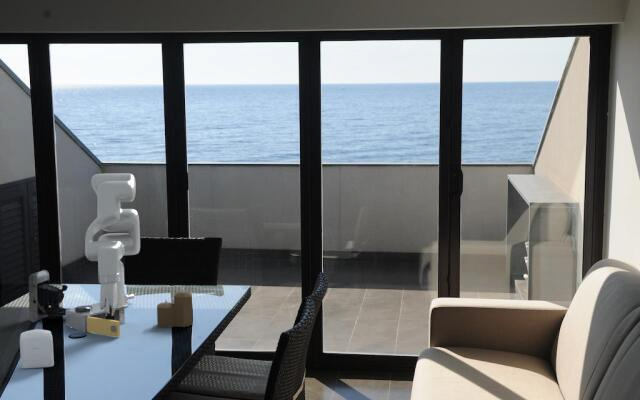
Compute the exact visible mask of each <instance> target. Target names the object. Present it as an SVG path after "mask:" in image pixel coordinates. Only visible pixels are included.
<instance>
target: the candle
mask: <svg viewBox="0 0 640 400" xmlns="http://www.w3.org/2000/svg"><path fill="white" fill-rule="evenodd" d="M181 288H182V289H181V291H176V292H175V293H174V294H173V302H169V301H168V300H167V299H165V301H164V302H160V303H158V304H157V305H156V319H157V321H156V322H157V328H163V329H169V328H174V327H179V328H186V326H187V327H190V325H192V326H193V296H192V293H191V292H190V291H186V290H185V288H184V286H182V287H181Z"/></svg>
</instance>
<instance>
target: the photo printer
mask: <svg viewBox="0 0 640 400" xmlns="http://www.w3.org/2000/svg"><path fill="white" fill-rule="evenodd" d="M53 341H54V340H53V335H52V332H51V331H50V330H48V329H47V330H46V329H31V330H30V329H29V330H26V331H24V332H21V333H20V337H19V350H20V367H21V369H22V370H23V369H36V368H38V369H39V368H50V367H51V368H52V367H54V365H55V361H54V359H55V358H54V357H55V356H54V342H53Z"/></svg>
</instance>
